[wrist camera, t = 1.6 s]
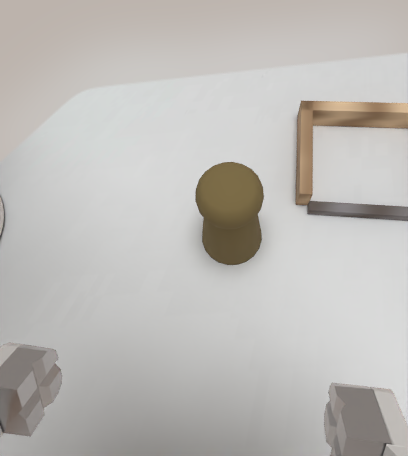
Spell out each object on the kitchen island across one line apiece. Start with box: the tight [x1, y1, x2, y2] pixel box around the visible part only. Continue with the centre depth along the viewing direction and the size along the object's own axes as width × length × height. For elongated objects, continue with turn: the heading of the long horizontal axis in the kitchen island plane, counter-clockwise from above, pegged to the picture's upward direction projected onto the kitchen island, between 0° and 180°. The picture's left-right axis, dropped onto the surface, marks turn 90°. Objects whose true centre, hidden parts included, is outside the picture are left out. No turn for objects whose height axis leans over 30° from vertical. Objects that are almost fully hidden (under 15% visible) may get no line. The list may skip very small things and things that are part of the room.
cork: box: [196, 162, 264, 265], centre depth 30 cm, size 6×6×11 cm
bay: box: [296, 101, 408, 221], centre depth 35 cm, size 14×12×2 cm
